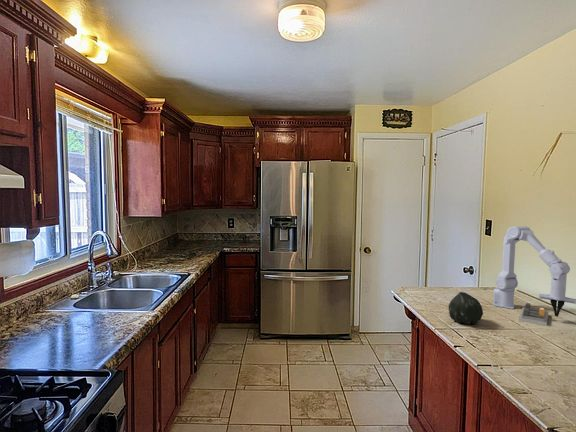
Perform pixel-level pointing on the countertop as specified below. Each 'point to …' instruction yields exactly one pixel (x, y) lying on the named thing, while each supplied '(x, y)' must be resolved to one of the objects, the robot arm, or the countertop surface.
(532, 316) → the panel
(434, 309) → the countertop surface
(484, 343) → the countertop surface
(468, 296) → the squash
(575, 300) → the robot arm
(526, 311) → the breaker
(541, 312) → the block
